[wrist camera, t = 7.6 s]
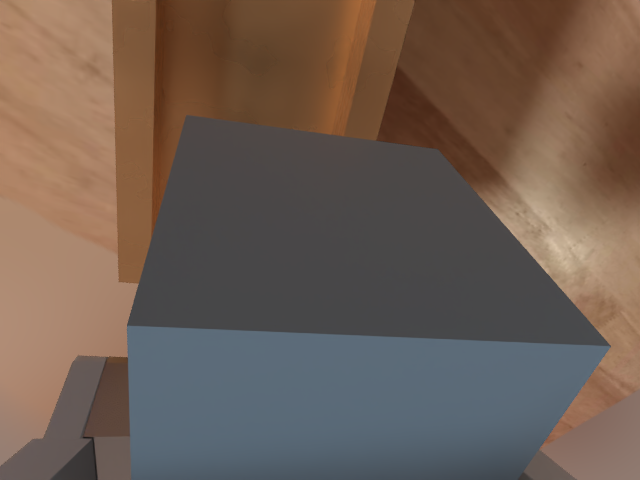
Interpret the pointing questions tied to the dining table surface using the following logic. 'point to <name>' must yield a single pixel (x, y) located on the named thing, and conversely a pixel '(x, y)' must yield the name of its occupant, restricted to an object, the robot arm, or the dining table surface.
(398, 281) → the blue-grey rectangular block
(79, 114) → the dining table surface
